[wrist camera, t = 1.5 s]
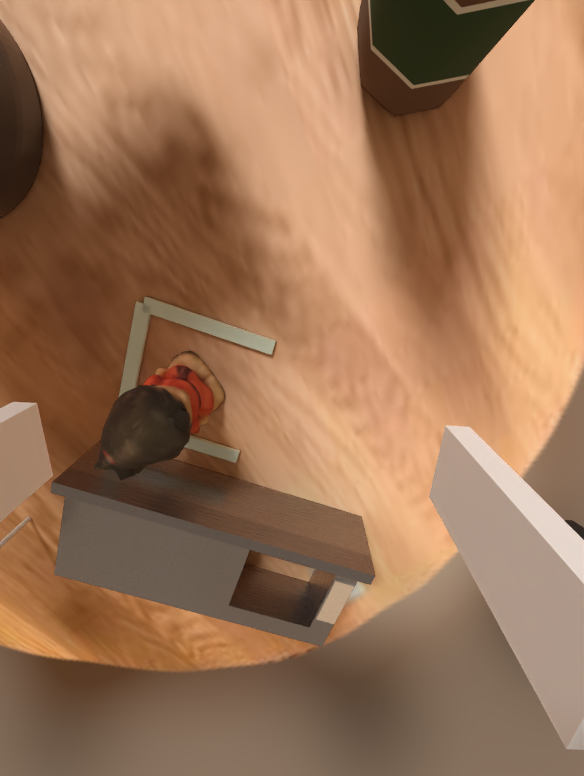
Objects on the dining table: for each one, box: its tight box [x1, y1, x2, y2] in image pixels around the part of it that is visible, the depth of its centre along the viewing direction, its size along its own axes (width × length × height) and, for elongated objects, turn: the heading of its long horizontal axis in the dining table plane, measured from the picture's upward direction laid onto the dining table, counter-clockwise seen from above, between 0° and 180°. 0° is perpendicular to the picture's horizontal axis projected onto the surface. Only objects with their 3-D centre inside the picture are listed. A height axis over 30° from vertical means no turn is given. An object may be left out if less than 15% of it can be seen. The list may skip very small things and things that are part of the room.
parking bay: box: [119, 297, 276, 463], centre depth 30 cm, size 12×12×1 cm
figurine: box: [93, 351, 225, 481], centre depth 25 cm, size 6×6×12 cm
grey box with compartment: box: [51, 440, 375, 646], centre depth 32 cm, size 26×12×7 cm, turn 71°
